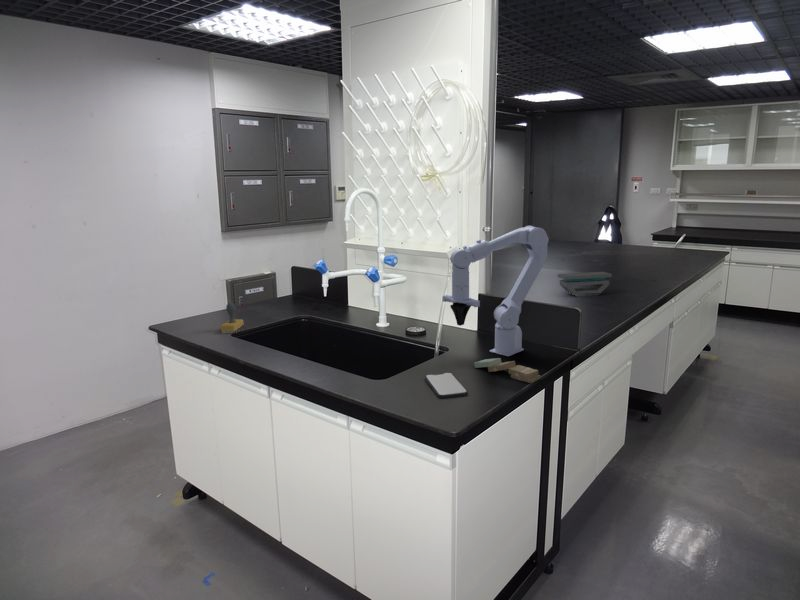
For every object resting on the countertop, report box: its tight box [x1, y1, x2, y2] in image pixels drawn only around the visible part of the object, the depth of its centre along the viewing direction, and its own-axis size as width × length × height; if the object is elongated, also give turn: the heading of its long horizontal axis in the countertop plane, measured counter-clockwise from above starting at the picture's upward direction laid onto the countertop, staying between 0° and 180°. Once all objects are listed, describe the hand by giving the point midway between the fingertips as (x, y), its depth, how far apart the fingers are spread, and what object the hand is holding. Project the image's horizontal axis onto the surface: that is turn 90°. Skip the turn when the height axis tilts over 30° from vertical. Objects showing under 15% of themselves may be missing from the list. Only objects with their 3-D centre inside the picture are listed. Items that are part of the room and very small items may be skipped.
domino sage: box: [473, 357, 503, 369], centre depth 165 cm, size 2×5×7 cm
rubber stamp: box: [220, 302, 245, 332], centre depth 217 cm, size 10×6×12 cm, turn 175°
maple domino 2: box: [508, 364, 539, 379], centre depth 156 cm, size 2×5×7 cm
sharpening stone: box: [557, 271, 613, 294], centre depth 267 cm, size 25×8×11 cm, turn 98°
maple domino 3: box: [510, 374, 541, 384], centre depth 156 cm, size 2×5×7 cm
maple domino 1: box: [487, 360, 517, 373], centre depth 160 cm, size 2×5×7 cm
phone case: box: [424, 372, 469, 399], centre depth 151 cm, size 9×2×16 cm
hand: (460, 324), depth 177 cm, fingers closed
